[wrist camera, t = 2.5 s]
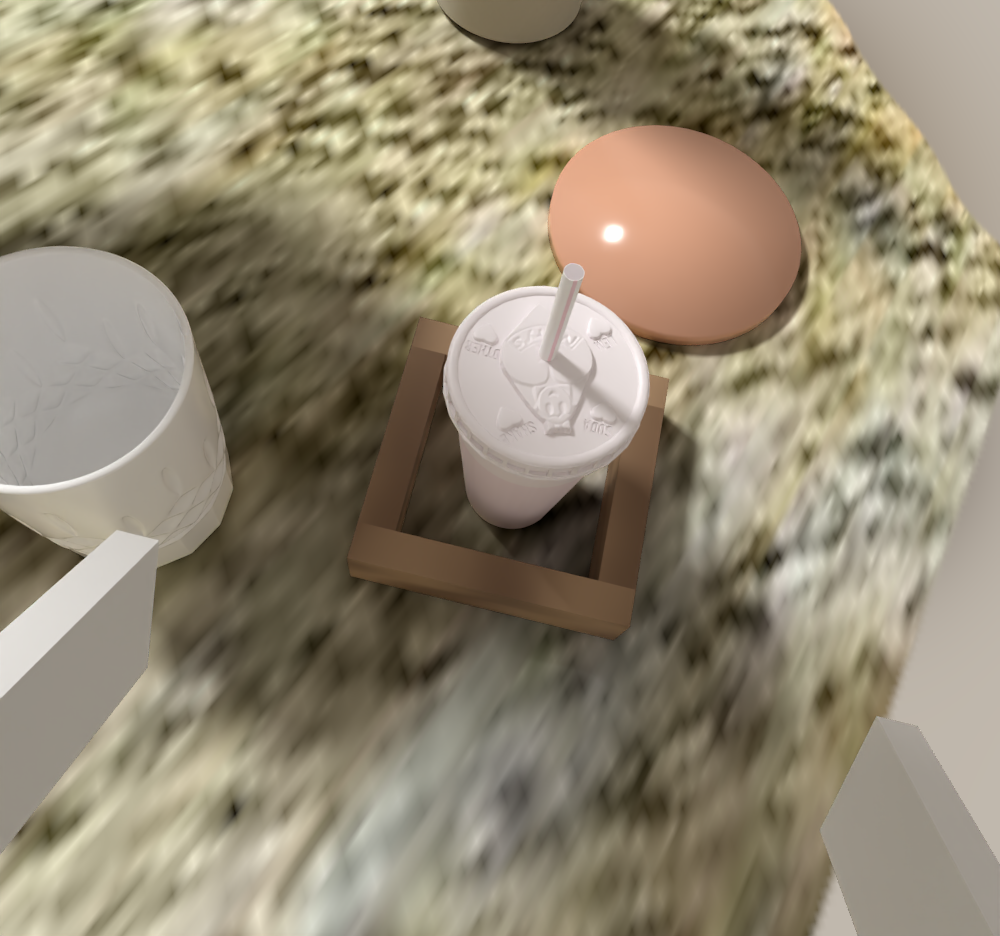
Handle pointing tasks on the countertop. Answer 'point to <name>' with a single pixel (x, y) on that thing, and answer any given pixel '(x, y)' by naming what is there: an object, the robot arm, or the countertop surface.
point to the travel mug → (512, 18)
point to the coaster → (675, 233)
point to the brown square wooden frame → (484, 576)
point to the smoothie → (541, 396)
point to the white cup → (104, 406)
